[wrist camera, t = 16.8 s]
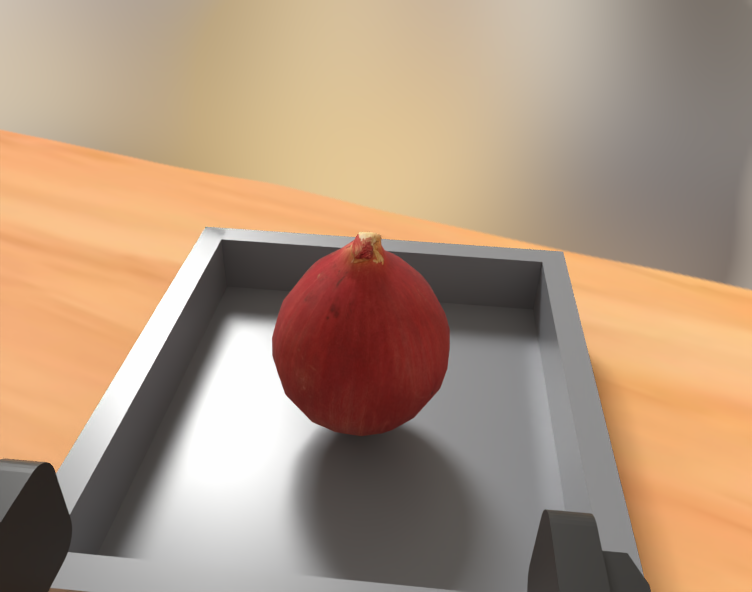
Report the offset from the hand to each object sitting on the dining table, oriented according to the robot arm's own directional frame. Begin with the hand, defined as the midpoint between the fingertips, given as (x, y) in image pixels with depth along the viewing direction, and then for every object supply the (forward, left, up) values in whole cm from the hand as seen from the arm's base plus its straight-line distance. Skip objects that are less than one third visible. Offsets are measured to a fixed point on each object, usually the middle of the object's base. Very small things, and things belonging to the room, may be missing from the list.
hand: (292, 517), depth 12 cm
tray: (0, +11, -10) cm, 15 cm away
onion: (0, +11, -9) cm, 14 cm away
